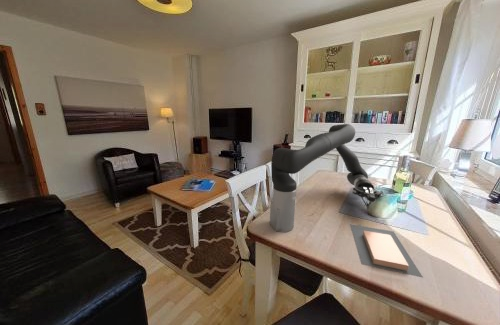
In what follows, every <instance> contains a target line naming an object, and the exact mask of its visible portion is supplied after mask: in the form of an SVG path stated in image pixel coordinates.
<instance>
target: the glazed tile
mask: <svg viewBox="0 0 500 325" xmlns="http://www.w3.org/2000/svg"><path fill="white" fill-rule="evenodd" d="M363 236H364V239H365V242H366V244H367V247H368V250H369V253H370V255H371V258H372V261H373V263H374V264H377V265H382V266H387V267H391V268H396V269H401V270H405V271H408V267H409V265H408V263H407V262H406V260H405V258H404V257H403V255H402V253H401V252H400V250H399V248H398V247H397V245H396V243H395V242H394V240H393V238H392V237H391V235H388V234H382V233H376V232H370V231H364V230H363Z"/></svg>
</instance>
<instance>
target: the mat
mask: <svg viewBox="0 0 500 325" xmlns="http://www.w3.org/2000/svg"><path fill="white" fill-rule="evenodd" d="M349 227H350V229H351V233H352V236H353V237H352V238H353V239H354V242H355V246H356V247H355V248H356V249H357V252H358V257H359V259H360V263H361V265H363V266H369V267H372V268H376V269H377V268H378V269H382V270H387V271H392V272H396V273H400V274H401V273H402V274H406V275H410V276H414V277H415V276H416V277H420V278H424V276H423V275H422V273H421V272H420V270H419V269H418V267H417V265H416V264H415V262H414V261H413V259H412V257H411V256H410V255H409V253H408V252H407V250H406V249H405V247H404V245H403V244H402V242H401V241H400V239H399V237H398V236H397V234H396V233H395V231H393V230H387V229H383V228H382V229H381V228H375V227H368V226H364V225H356V224H349ZM363 230H364V231H370V232H376V233H382V234H388V235H391V237H392V238H393V240H394V242H395V243H396V245H397V247H398V248H399V250H400V252H401V253H402V255H403V257H404V258H405V260H406V262H407V263H408V265H409V267H408V271H405V270H401V269H396V268H391V267H387V266H382V265H377V264H374V263H373V261H372V258H371V255H370V253H369V250H368V247H367V244H366V242H365V239H364V236H363Z"/></svg>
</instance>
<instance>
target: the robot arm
mask: <svg viewBox="0 0 500 325" xmlns="http://www.w3.org/2000/svg"><path fill="white" fill-rule="evenodd" d="M355 136H356V129H355V127H354V126H353V125H352V124H349V123H345V124H344V123H343V124H335V125H331V126H330V128H329V130H328V132H323V133H319V134H316V135H314V136H313V137H312V136H311V138H309V139H307V141H306V143H305V146H304V147H303V148H300V149H292V148H286V147H278V148H276V149H275V150H274V151H273V153H272V156H271V161H270V162H271V165H270V166H271V167H270V168H271V169H270V170H271V182H272V187H273V188H272V202H271V203H270V206H269V208H270V210H269V225H270V227H272V228H273V229H274V231H275V232H280V233H281V232H283V233H286V232H287V233H288V232H290V231H292V230H293V229H294V226H295V225H294V224H295V212H296V198H297V197H296V196H297V181H296V180H295V179H294V178H293V177H291V175H294V174H297V173H299V172H300V171H302V170H303V169H304V168H306V167H307V166H308V165H310V164H311V163H312V162H314V161H315V160H317V159H319V158H321V157H323V156H325V155H326V154H328V153H329V152H332V151H333V150H335V151H337V153H338V154H339V155H340V157H341V158H342V160H343V163H344V165H345V168H346V169H347V171H348V172H349V173H347V175H346V178H347V181H348V182H349V184H351V185H352V186H354V187H352V192H351V193H352V194H354V195H356V196H358V197H361V198H365V199H366V200H367V201H369V202H370V203H371V202H372V203H375V201H376V200H378V199H380V198H382V197H383V195H384V191H382V190H377V189H376V188H375V187H374V185H373V183H372V182H371V181H370V179H369V175H368V173H367V171H366V170H365V169H364V168H363V167H362V166H361V163H360V160H359V158H358V156H357V154H356V153H354V151H353V150H351V149H350V148H349V147H348V146H346V144H349V143H350V142H351V141H352V142H353V140H354V139H355ZM382 194H383V195H382Z"/></svg>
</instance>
